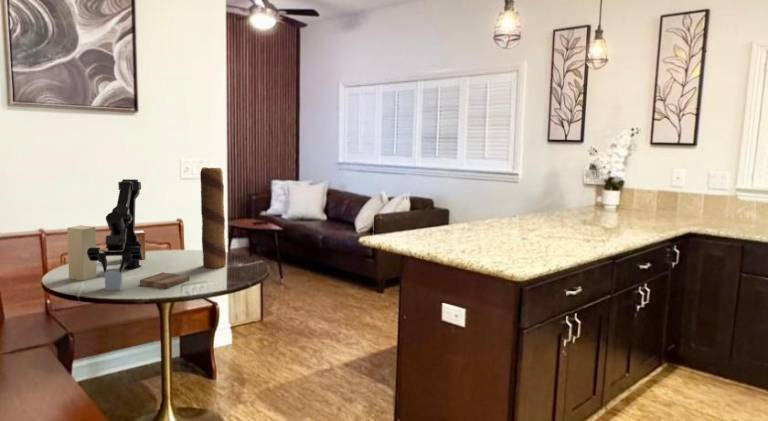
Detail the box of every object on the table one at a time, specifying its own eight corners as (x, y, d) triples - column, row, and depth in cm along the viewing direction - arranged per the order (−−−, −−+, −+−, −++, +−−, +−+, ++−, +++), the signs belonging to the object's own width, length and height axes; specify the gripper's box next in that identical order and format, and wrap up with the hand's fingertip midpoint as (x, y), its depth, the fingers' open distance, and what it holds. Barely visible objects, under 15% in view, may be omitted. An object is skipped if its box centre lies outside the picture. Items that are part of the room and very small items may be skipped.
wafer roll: (196, 267, 242) (194, 167, 236) (212, 262, 252) (211, 166, 246) (215, 270, 238) (213, 168, 232) (230, 265, 248) (229, 167, 242)
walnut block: (140, 284, 212) (139, 279, 211) (162, 277, 224) (162, 272, 224) (167, 288, 208) (167, 283, 208) (189, 280, 220) (189, 275, 220)
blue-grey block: (108, 286, 208) (107, 269, 207) (122, 286, 209) (121, 268, 208) (105, 290, 203) (104, 272, 202) (119, 289, 204) (119, 271, 203)
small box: (127, 261, 249) (126, 233, 248) (125, 258, 255) (124, 231, 253) (145, 259, 254) (145, 232, 252) (143, 256, 259) (142, 230, 257)
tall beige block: (99, 276, 221) (96, 226, 219) (83, 281, 215) (81, 229, 212) (84, 274, 224) (82, 224, 221) (68, 278, 217) (66, 227, 214)
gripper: (87, 226, 204) (80, 261, 195) (140, 226, 209) (136, 260, 200) (93, 243, 213) (87, 277, 204) (144, 242, 218) (140, 275, 209)
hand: (112, 272), depth 204 cm, fingers closed on blue-grey block, 5 cm apart
